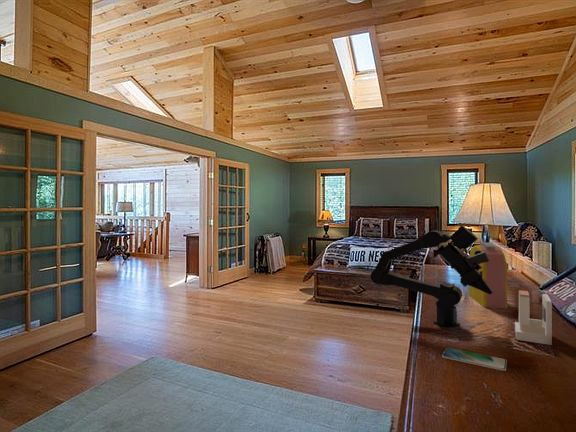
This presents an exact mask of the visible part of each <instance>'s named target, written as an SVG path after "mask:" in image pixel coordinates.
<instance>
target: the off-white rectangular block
mask: <svg viewBox="0 0 576 432" xmlns="http://www.w3.org/2000/svg"><path fill="white" fill-rule="evenodd" d="M530 304H531V303H530V293H529V291H528V290H521V289H520V290H518V322H519V327H520V329H521V330H522V325H529V326H530V319H531V318H530V315H531V314H530V312H531V311H530V308H531V307H530V306H531V305H530Z"/></svg>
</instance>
